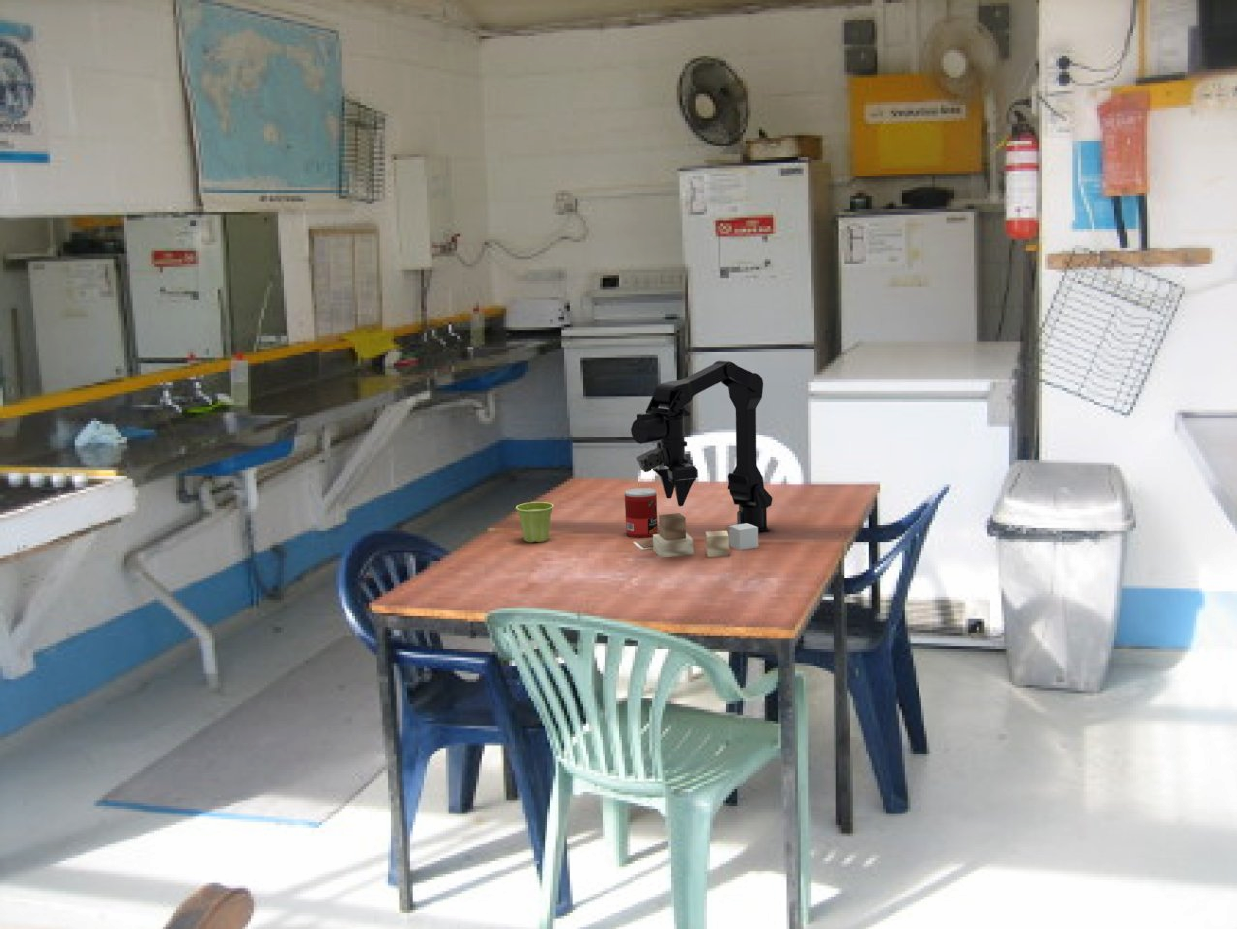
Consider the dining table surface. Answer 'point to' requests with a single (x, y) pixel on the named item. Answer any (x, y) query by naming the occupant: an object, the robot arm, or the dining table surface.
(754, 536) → the grey block
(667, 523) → the walnut block
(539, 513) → the plant pot
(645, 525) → the canned food
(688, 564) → the dining table surface
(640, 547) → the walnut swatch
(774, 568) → the dining table surface
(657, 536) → the cream square block
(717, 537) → the maple block
